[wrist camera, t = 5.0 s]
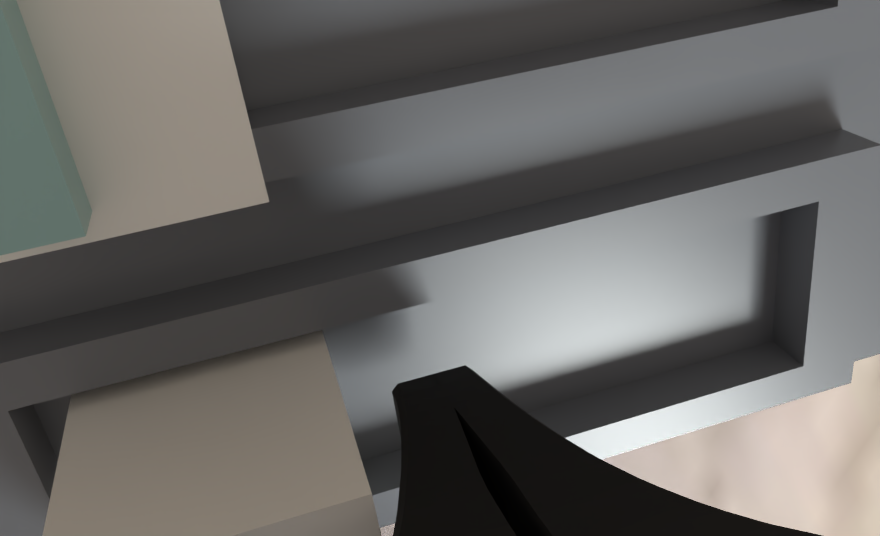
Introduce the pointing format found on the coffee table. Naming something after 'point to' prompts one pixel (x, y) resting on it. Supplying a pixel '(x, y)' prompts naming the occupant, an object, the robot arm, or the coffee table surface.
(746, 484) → the coffee table surface
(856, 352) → the switch bank
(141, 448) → the tab
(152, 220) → the tab
